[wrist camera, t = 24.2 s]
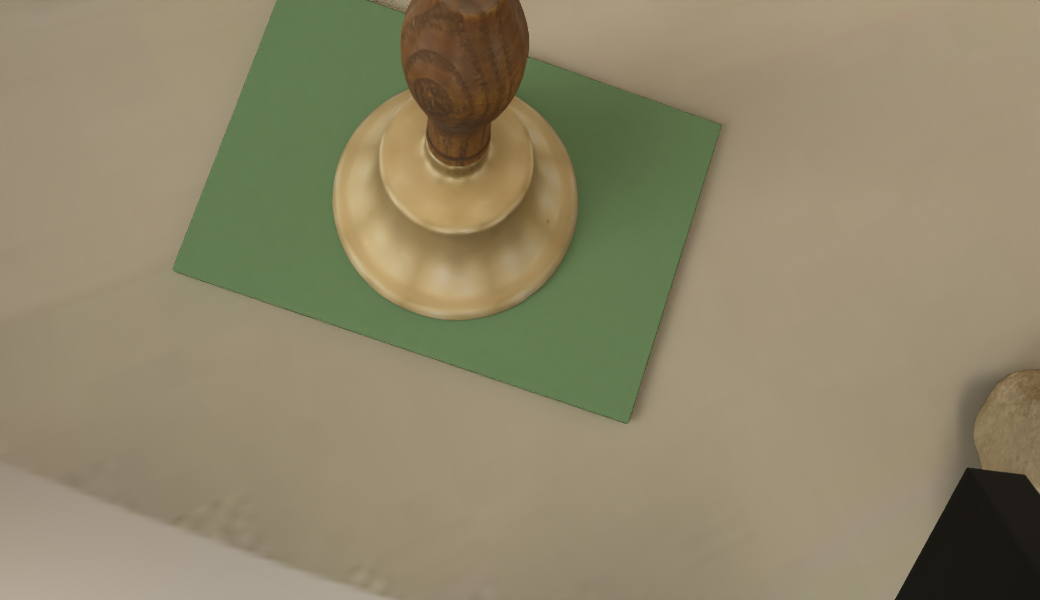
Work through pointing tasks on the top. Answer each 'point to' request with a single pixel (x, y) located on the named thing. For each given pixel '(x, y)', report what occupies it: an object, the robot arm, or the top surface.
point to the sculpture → (1011, 427)
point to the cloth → (359, 308)
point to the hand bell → (457, 171)
